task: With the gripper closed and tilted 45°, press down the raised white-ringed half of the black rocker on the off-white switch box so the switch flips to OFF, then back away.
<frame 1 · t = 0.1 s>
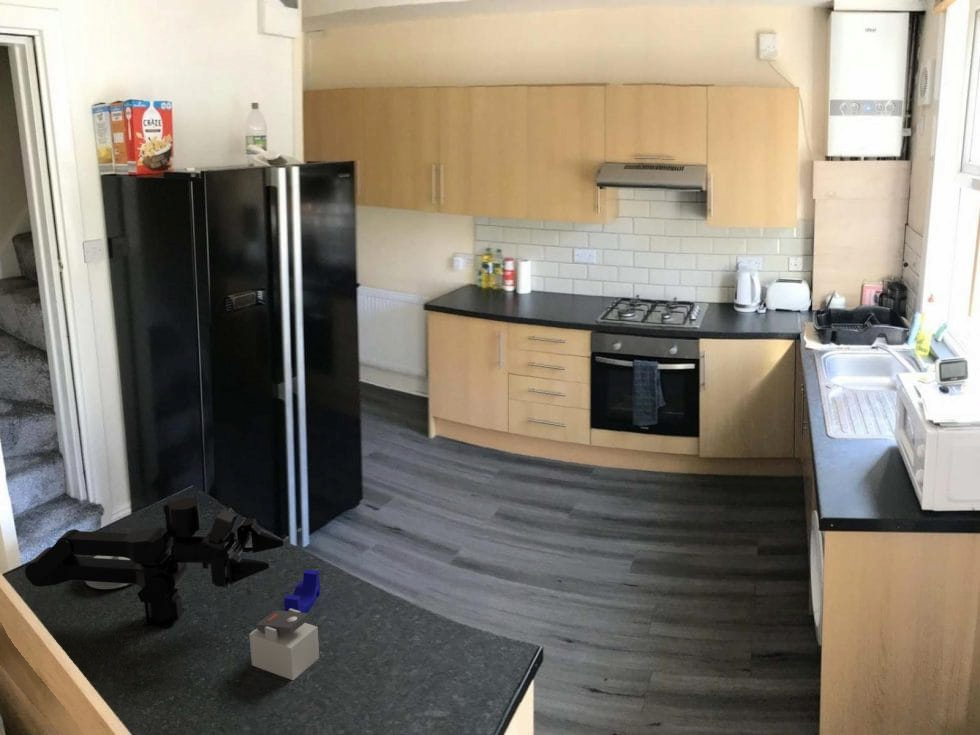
hand: (276, 554, 188), 17 cm above the table, tool horizontal, fingers open, 9 cm apart
blue notched block: (300, 609, 200), on the table
rocker: (282, 621, 178), point 9 cm above the table, hinge at -12.0°
switch box: (285, 661, 181), on the table
lid: (116, 578, 211), on the table
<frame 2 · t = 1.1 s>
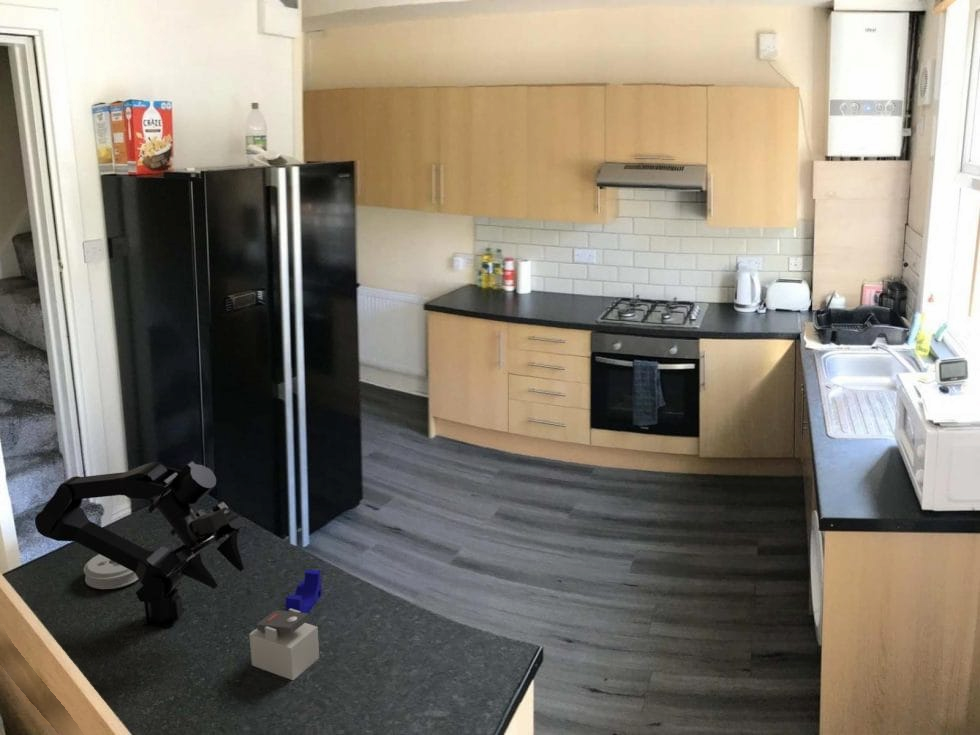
hand: (229, 578, 184), 14 cm above the table, tool tilted 45°, fingers open, 7 cm apart
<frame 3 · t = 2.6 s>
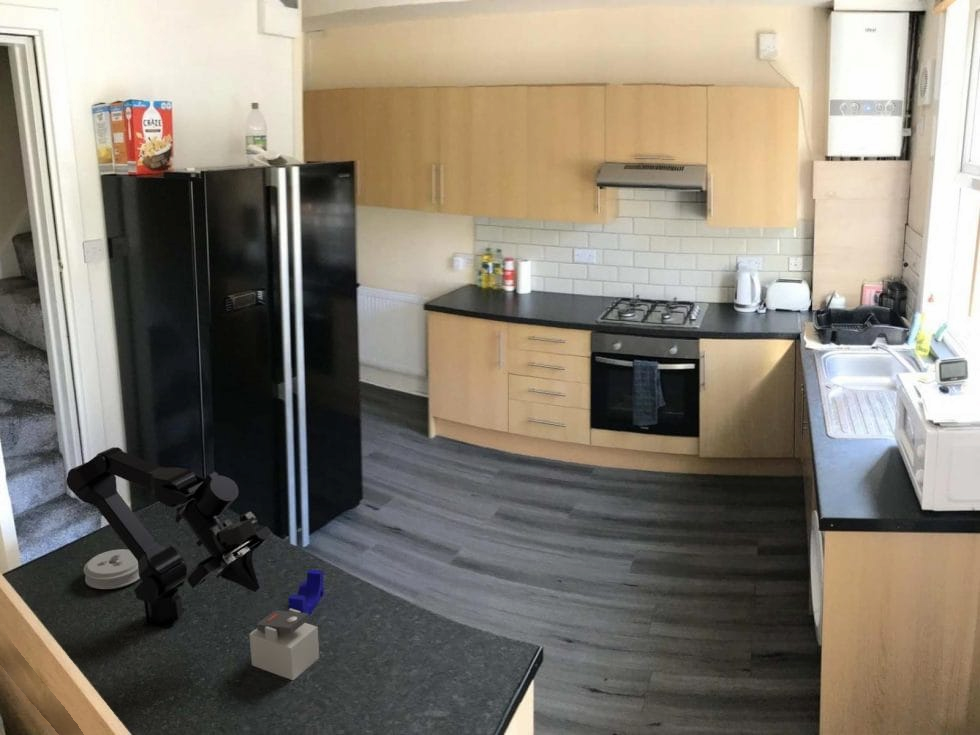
hand: (257, 590, 180), 14 cm above the table, tool tilted 45°, fingers closed
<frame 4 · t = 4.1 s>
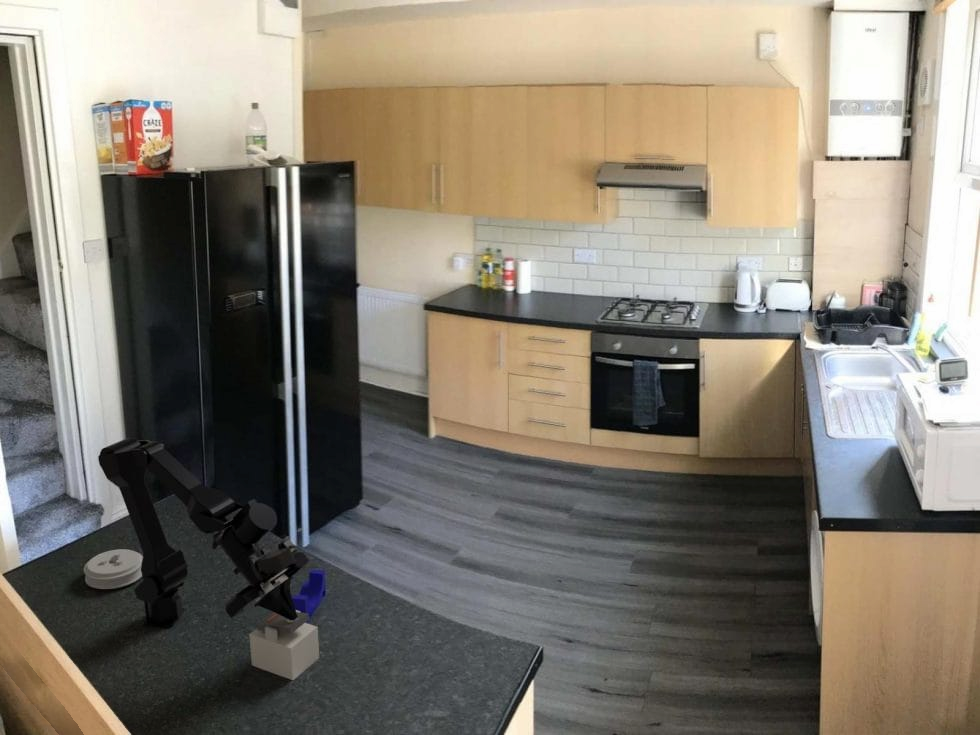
hand: (295, 619, 177), 10 cm above the table, tool tilted 45°, fingers closed, pressing on rocker
rocker: (282, 621, 178), point 9 cm above the table, hinge at -11.9°, touching gripper
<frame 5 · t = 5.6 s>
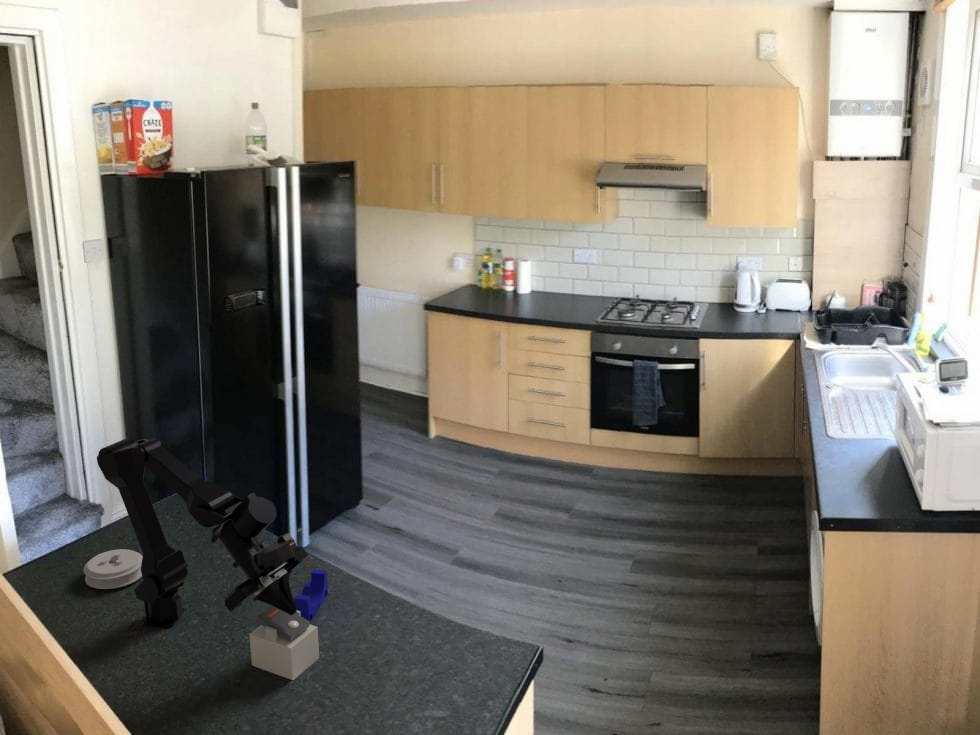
hand: (294, 613, 176), 12 cm above the table, tool tilted 45°, fingers closed
rocker: (283, 621, 178), point 9 cm above the table, hinge at 11.9°
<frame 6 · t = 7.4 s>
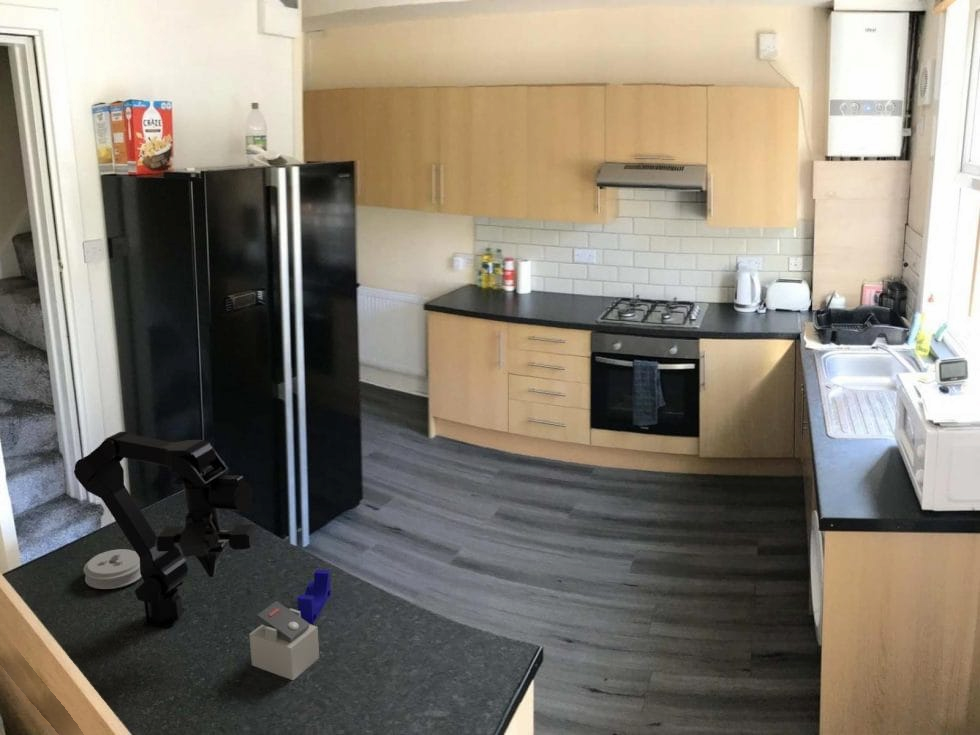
hand: (212, 576, 187), 13 cm above the table, tool pointing down, fingers closed
rocker: (283, 621, 178), point 9 cm above the table, hinge at 19.0°, touching switch box
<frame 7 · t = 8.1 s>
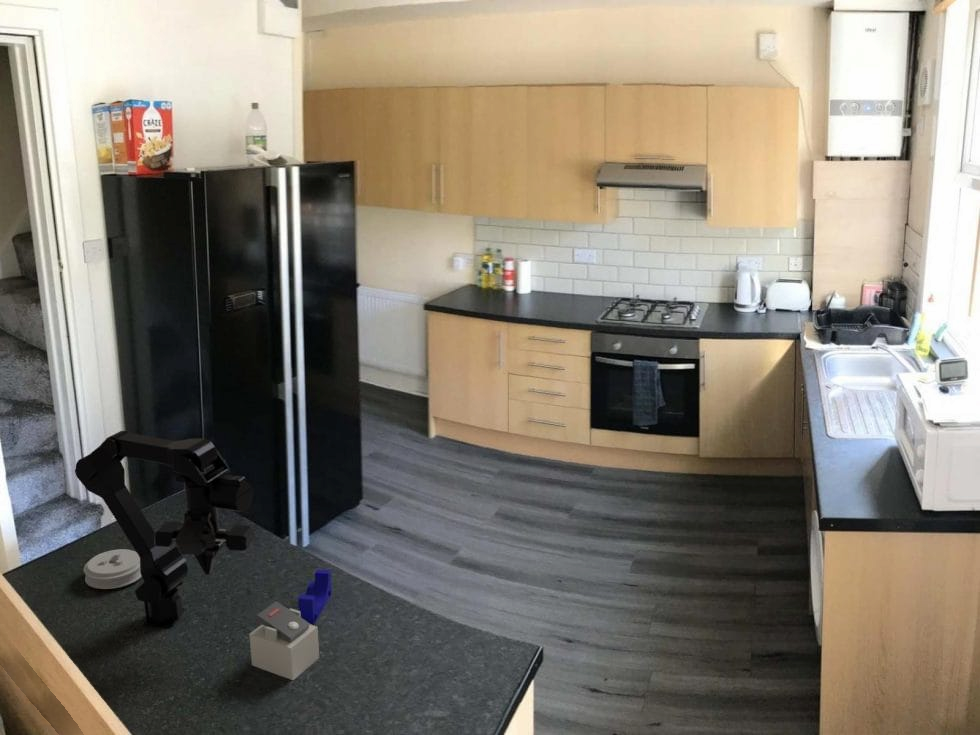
hand: (208, 573, 187), 13 cm above the table, tool pointing down, fingers closed
rocker: (283, 621, 178), point 9 cm above the table, hinge at 18.4°
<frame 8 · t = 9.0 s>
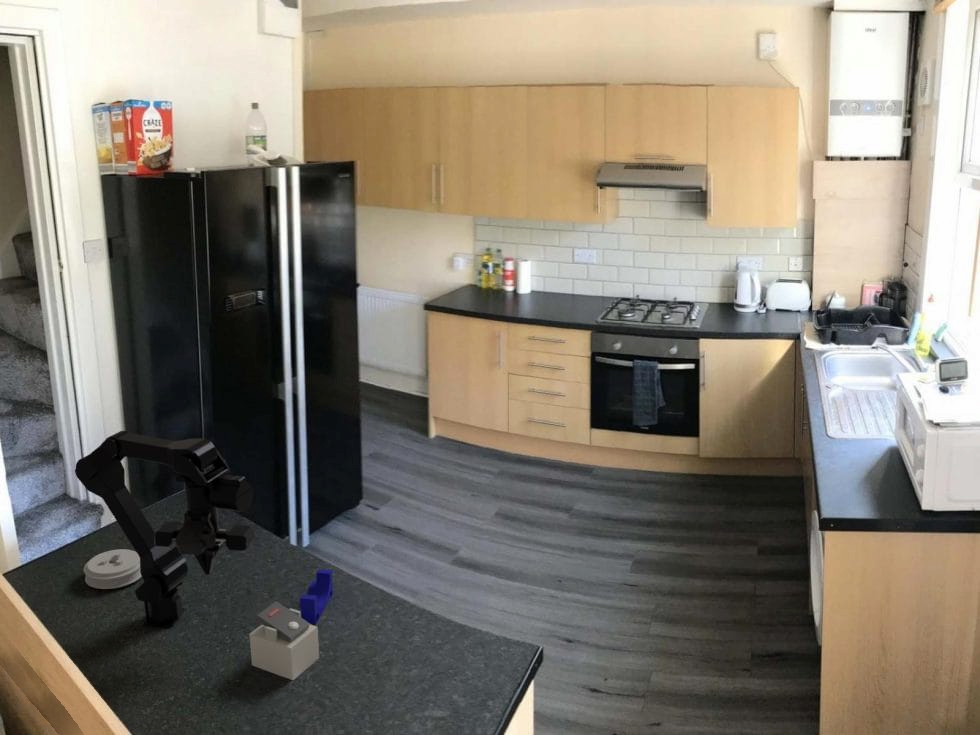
hand: (208, 573, 187), 13 cm above the table, tool pointing down, fingers closed
rocker: (283, 621, 178), point 9 cm above the table, hinge at 17.9°
at the end: rocker at +18° (first picture: -12°); blue notched block moved 3.3 cm from its start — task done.
